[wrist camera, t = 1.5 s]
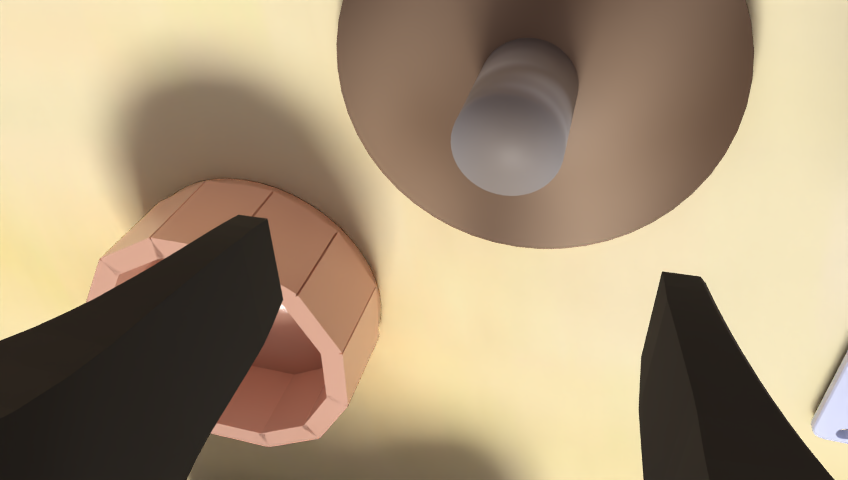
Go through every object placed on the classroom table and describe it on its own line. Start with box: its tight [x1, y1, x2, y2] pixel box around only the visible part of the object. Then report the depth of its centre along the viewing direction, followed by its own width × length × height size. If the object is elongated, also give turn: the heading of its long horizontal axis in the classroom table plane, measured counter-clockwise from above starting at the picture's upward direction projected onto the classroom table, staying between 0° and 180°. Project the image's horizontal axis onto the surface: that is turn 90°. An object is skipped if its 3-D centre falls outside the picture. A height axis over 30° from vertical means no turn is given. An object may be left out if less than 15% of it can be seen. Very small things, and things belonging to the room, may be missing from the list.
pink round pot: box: [86, 178, 381, 447], centre depth 26 cm, size 10×10×4 cm
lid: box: [337, 0, 754, 249], centre depth 18 cm, size 12×12×4 cm
